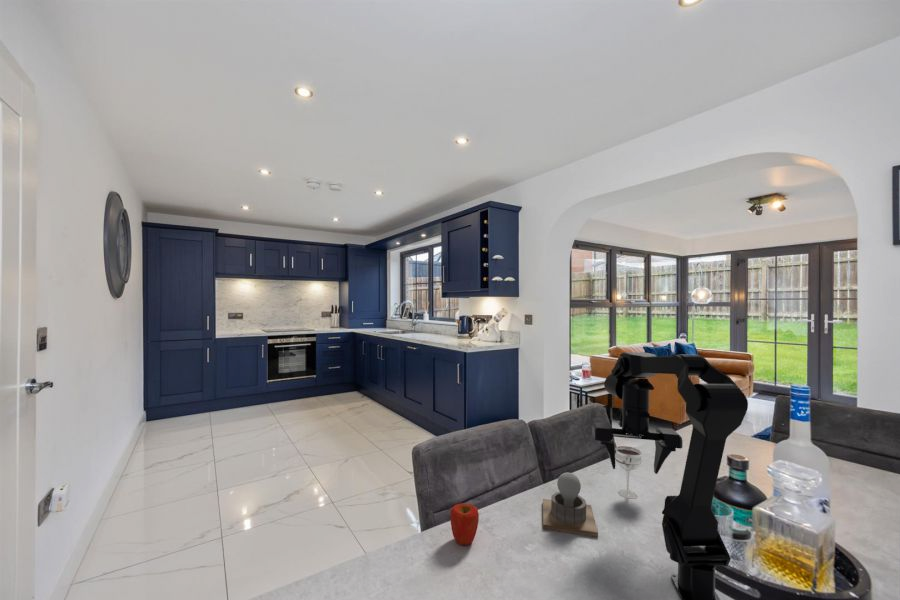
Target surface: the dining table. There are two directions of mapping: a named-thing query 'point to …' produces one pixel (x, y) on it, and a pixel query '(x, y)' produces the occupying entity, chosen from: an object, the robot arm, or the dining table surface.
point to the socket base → (569, 516)
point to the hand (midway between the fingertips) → (634, 470)
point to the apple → (464, 522)
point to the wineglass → (628, 465)
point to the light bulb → (568, 488)
